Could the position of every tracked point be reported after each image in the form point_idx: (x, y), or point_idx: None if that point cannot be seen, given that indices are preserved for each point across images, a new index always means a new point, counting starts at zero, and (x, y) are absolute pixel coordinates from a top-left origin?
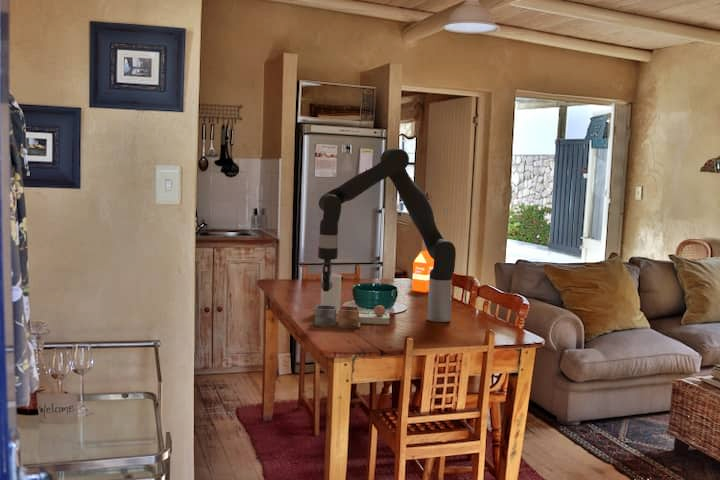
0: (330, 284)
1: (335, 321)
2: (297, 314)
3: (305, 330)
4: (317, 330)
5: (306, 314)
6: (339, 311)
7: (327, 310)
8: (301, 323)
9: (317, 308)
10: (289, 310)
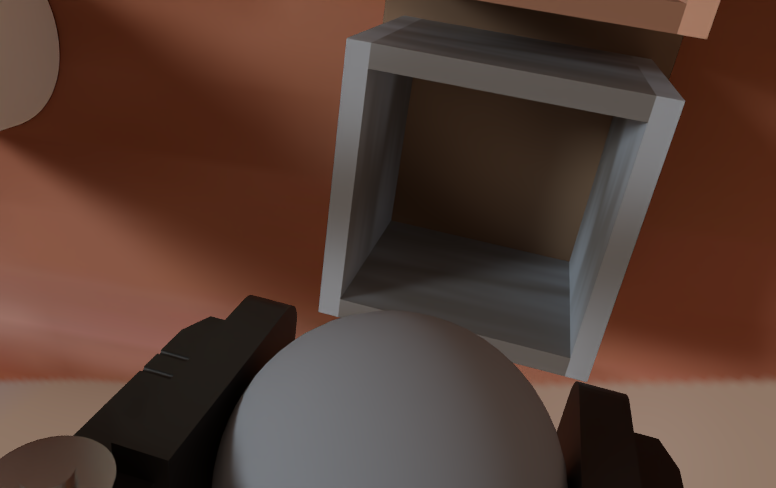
0: (533, 453)
1: (501, 34)
2: (123, 333)
3: (738, 379)
4: (763, 270)
5: (105, 263)
6: (707, 21)
7: (642, 221)
8: None
9: (473, 324)
10: (12, 366)
